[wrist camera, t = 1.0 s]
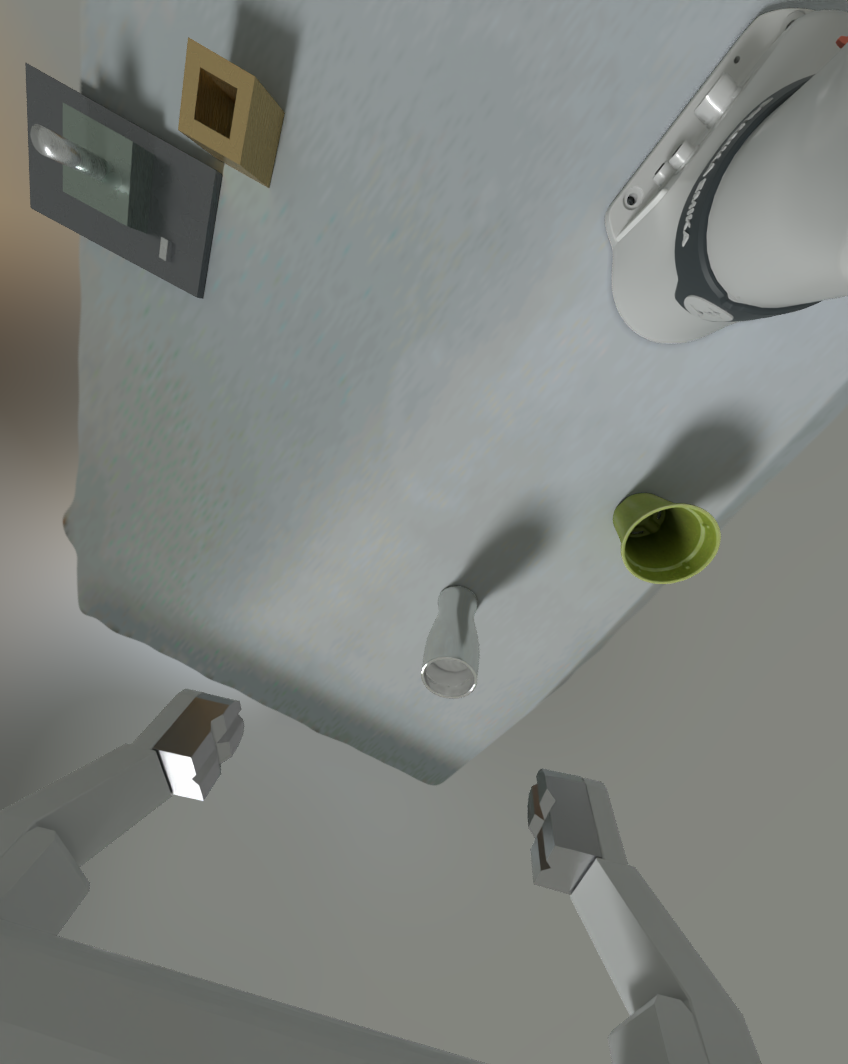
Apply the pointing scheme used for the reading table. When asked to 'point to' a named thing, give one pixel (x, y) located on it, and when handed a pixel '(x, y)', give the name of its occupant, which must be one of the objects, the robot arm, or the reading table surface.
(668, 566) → the plant pot
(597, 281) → the reading table surface
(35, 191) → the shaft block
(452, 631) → the beer glass
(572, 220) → the reading table surface
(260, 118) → the tan square sleeve
